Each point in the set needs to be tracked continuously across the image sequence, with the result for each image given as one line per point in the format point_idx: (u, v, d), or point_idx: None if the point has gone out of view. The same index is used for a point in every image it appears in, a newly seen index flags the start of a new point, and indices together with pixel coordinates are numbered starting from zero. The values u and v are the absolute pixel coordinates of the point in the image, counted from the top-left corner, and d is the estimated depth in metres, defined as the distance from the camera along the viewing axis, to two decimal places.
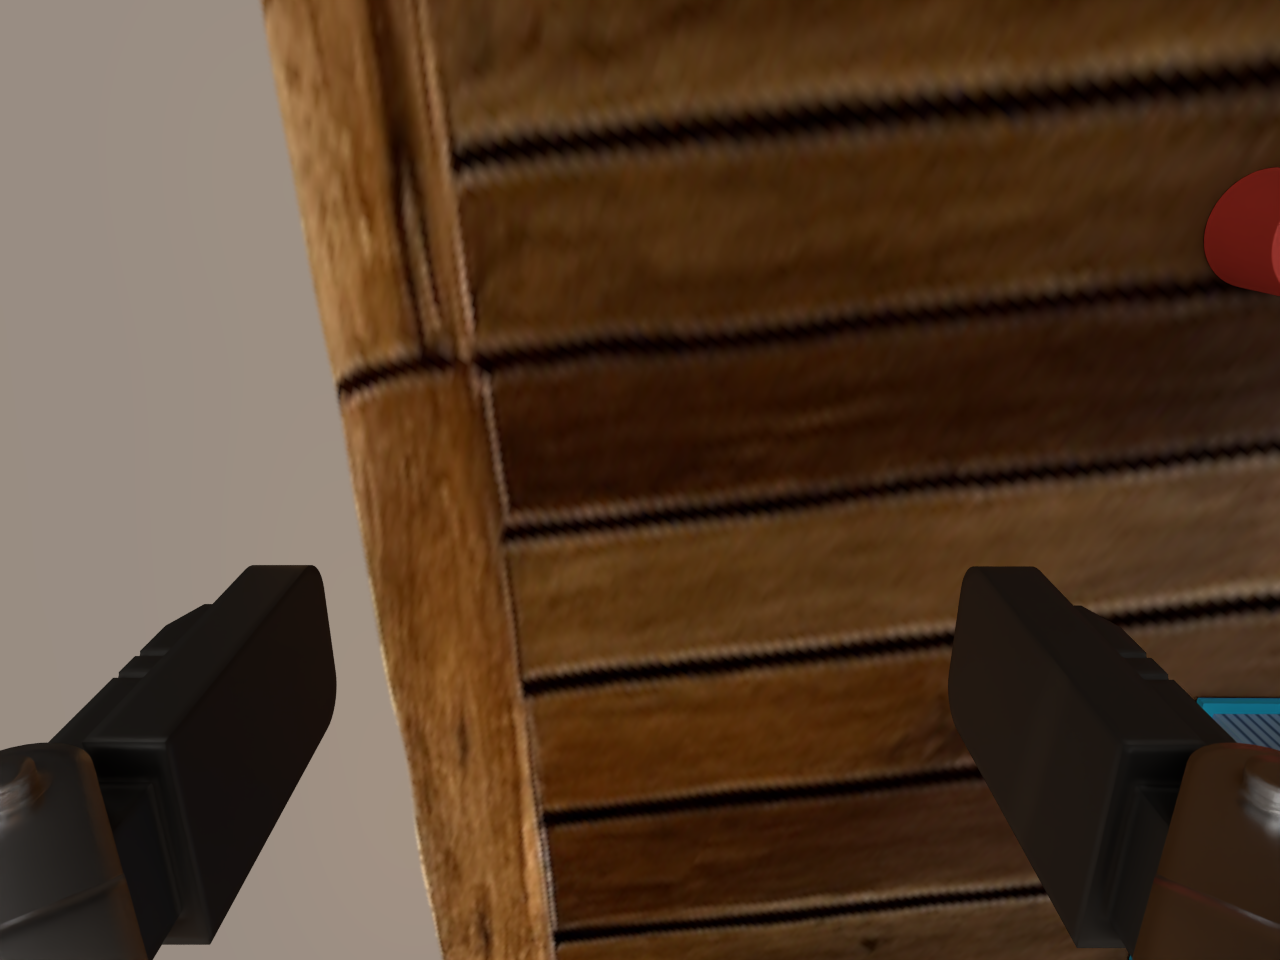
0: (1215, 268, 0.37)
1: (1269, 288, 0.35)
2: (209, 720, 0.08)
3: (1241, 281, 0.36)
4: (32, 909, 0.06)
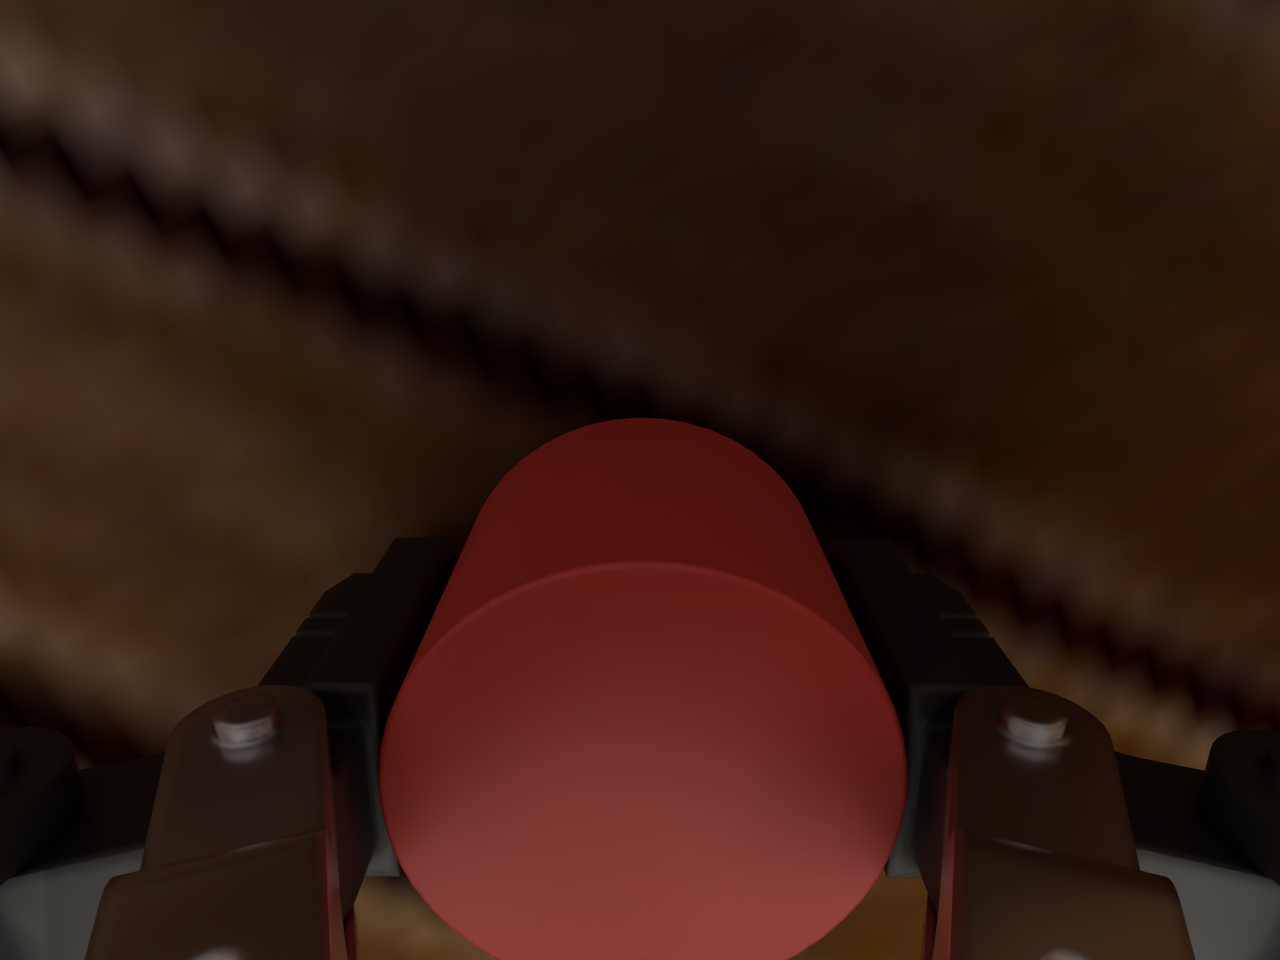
0: None
1: None
2: (398, 671, 0.09)
3: None
4: (254, 840, 0.06)
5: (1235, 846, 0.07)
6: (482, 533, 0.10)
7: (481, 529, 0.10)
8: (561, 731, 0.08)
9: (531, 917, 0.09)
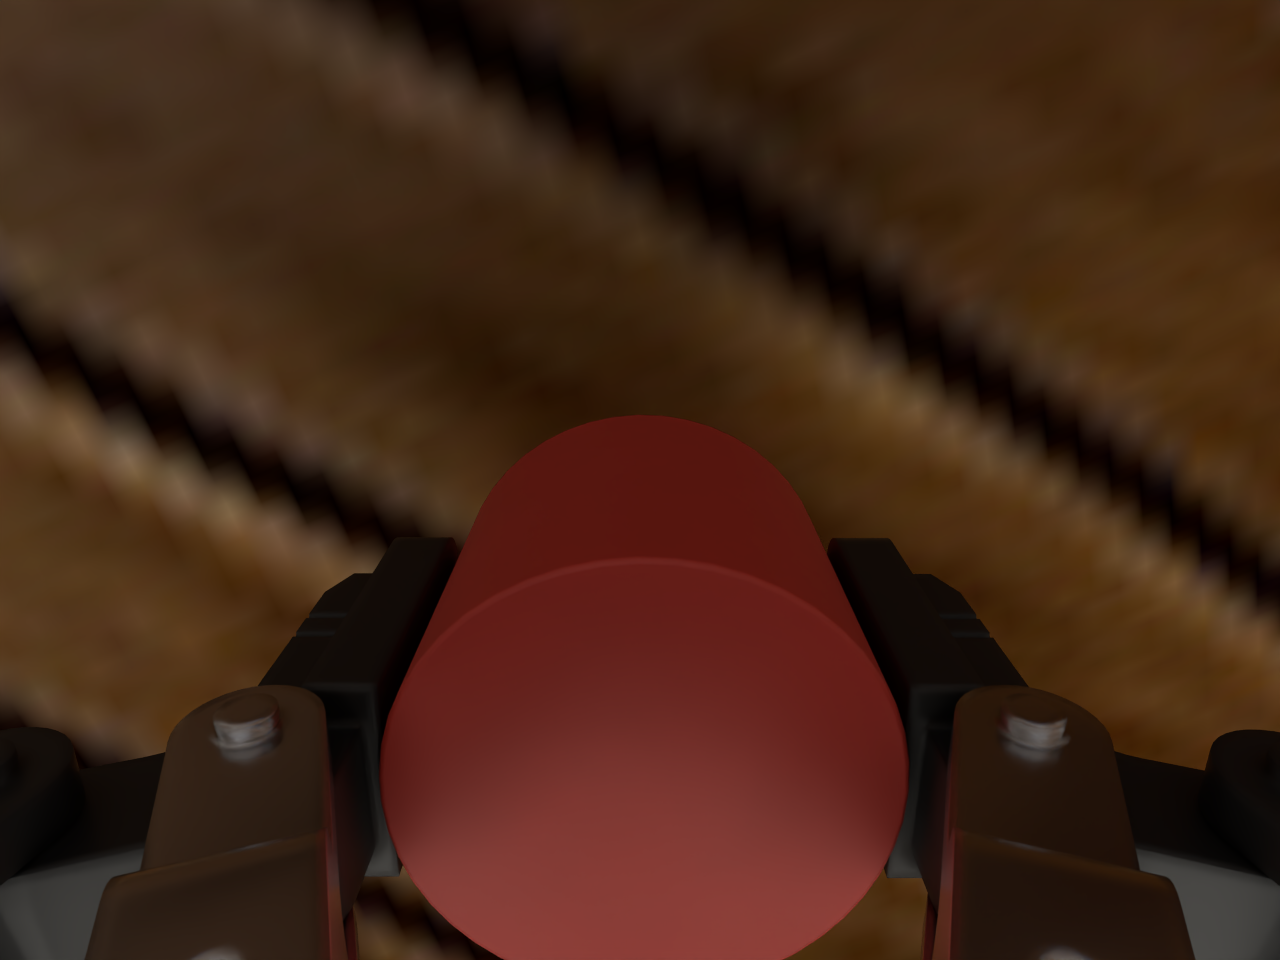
0: None
1: None
2: (398, 671, 0.09)
3: None
4: (254, 840, 0.06)
5: (1237, 846, 0.07)
6: (483, 530, 0.10)
7: (482, 526, 0.10)
8: (563, 727, 0.08)
9: (532, 914, 0.09)
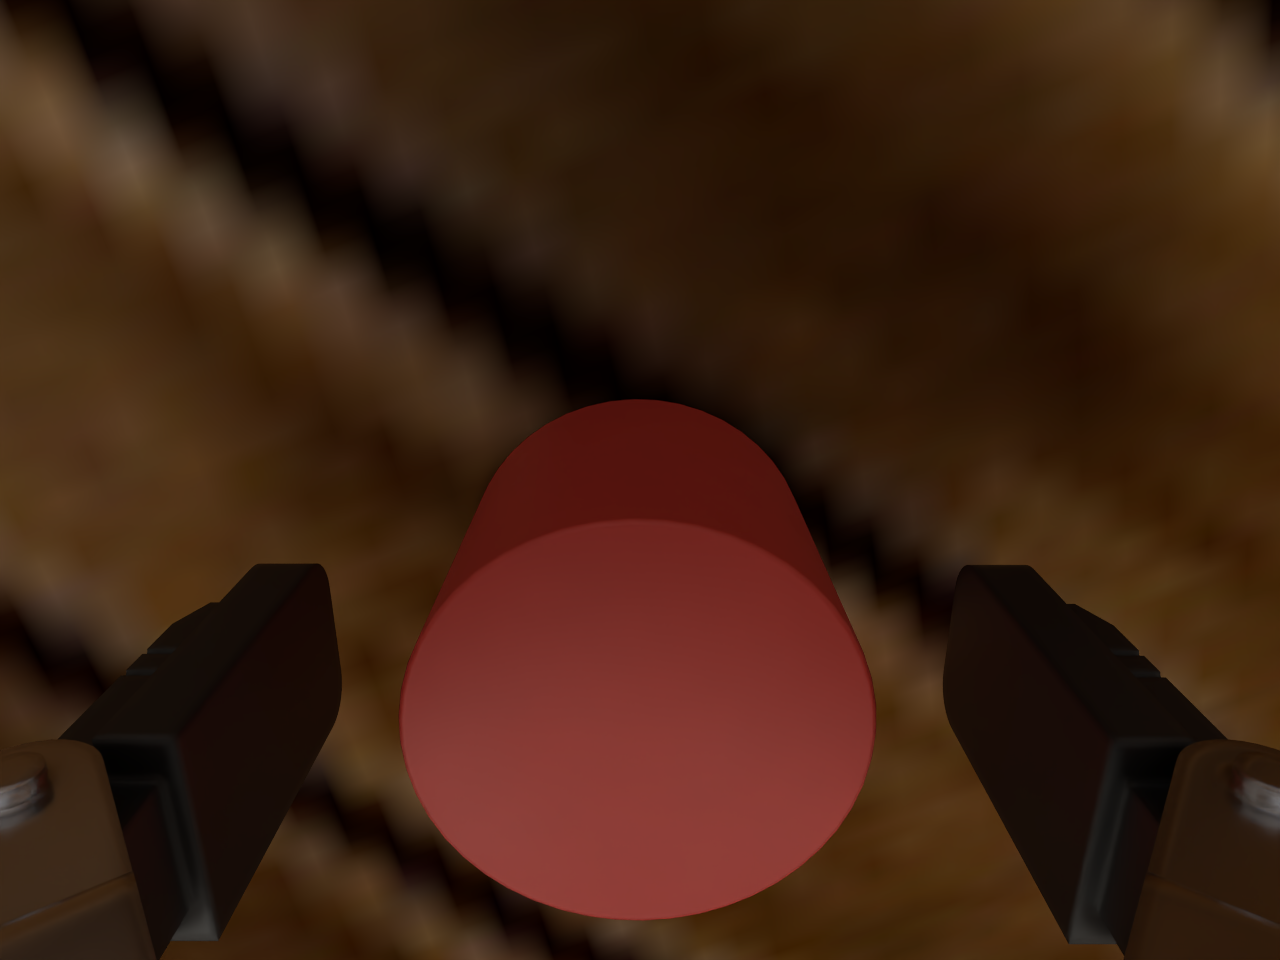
0: None
1: None
2: (217, 717, 0.08)
3: None
4: (43, 905, 0.06)
5: None
6: (491, 502, 0.11)
7: (489, 499, 0.11)
8: (564, 673, 0.09)
9: (536, 847, 0.10)
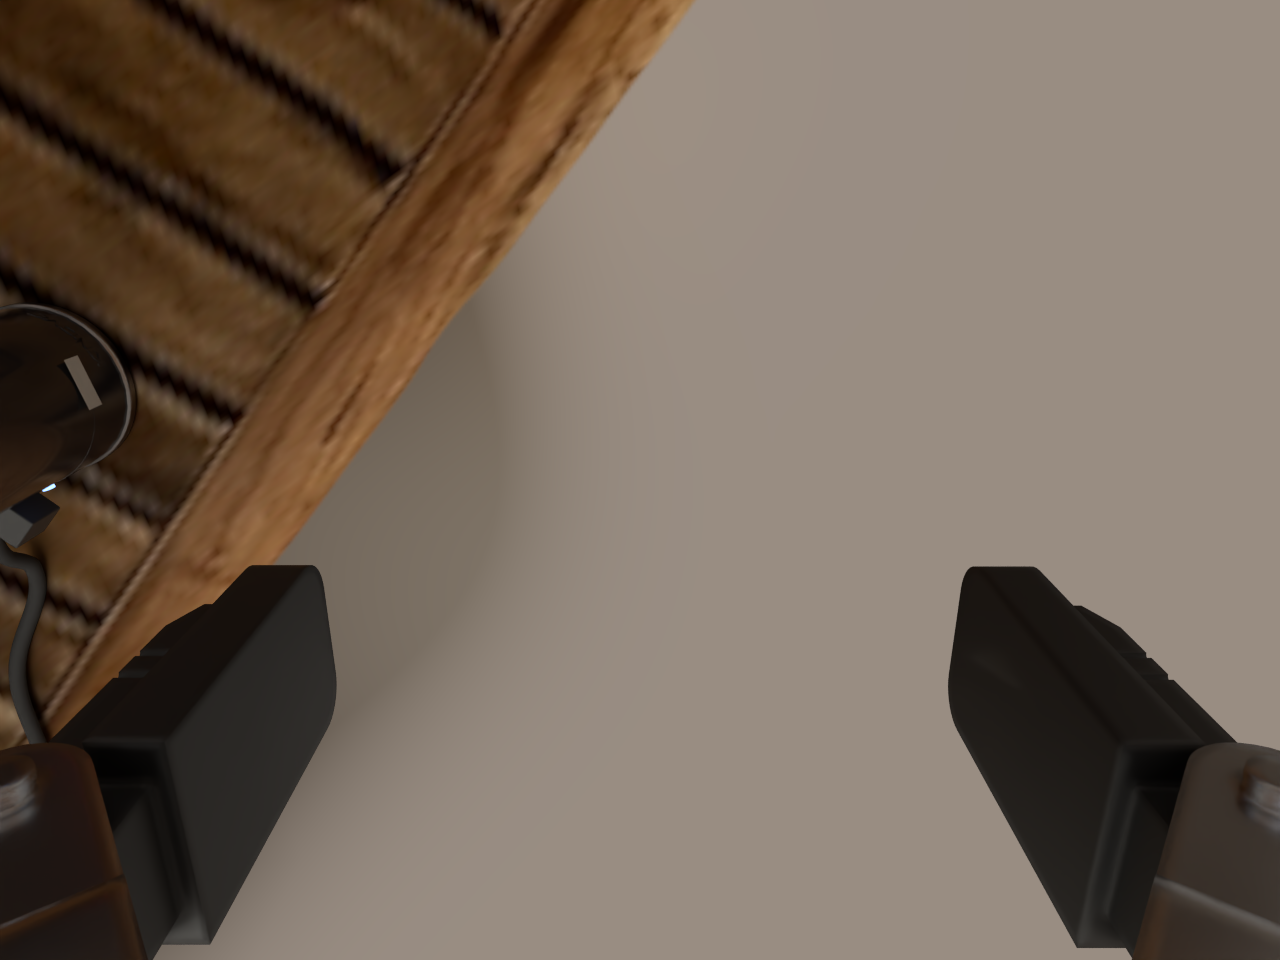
0: None
1: None
2: (209, 720, 0.08)
3: None
4: (32, 909, 0.06)
5: None
6: None
7: None
8: None
9: None
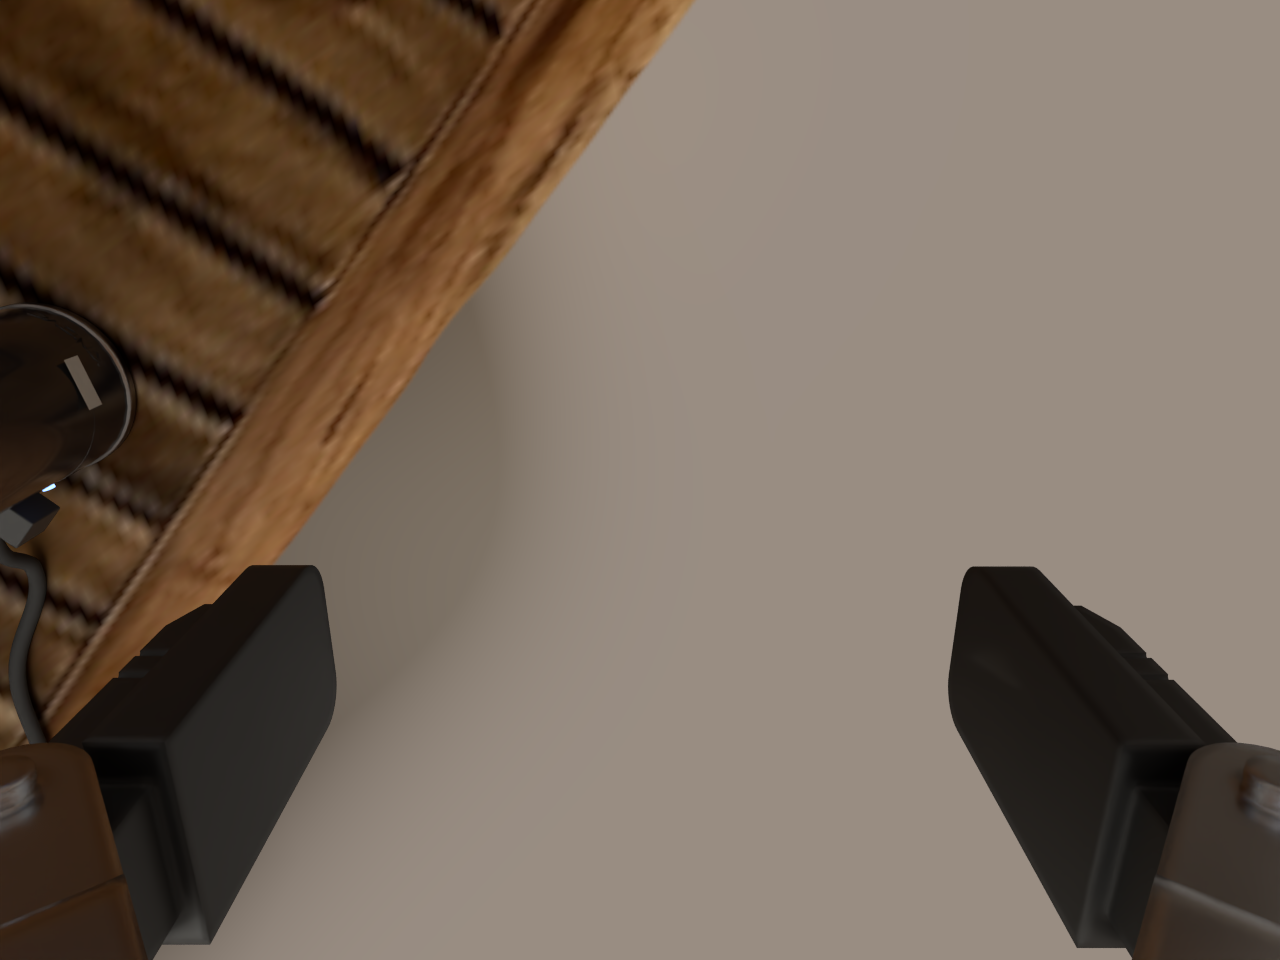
0: None
1: None
2: (209, 720, 0.08)
3: None
4: (32, 909, 0.06)
5: None
6: None
7: None
8: None
9: None
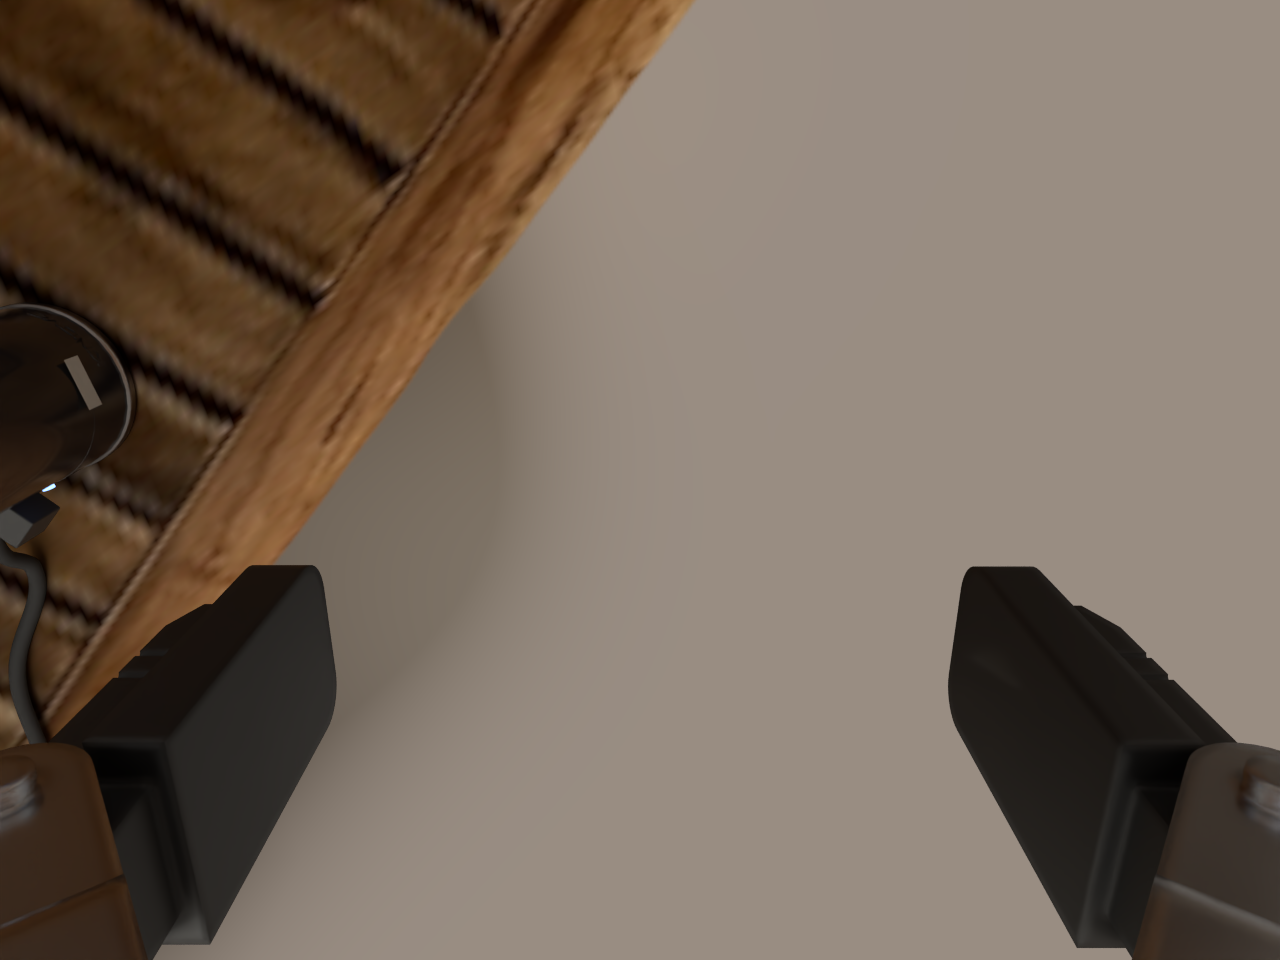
0: None
1: None
2: (209, 720, 0.08)
3: None
4: (32, 909, 0.06)
5: None
6: None
7: None
8: None
9: None
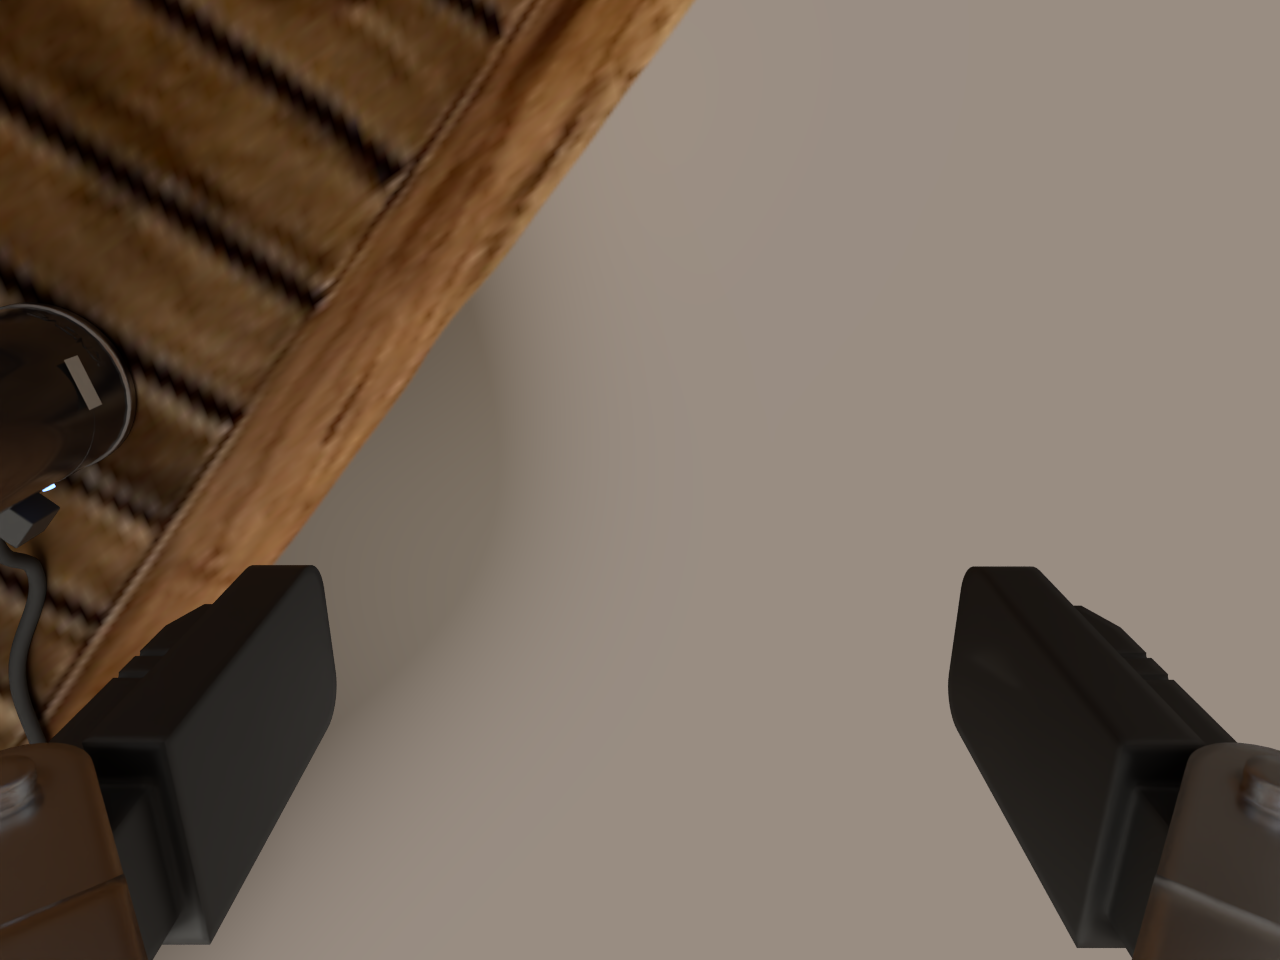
0: None
1: None
2: (209, 720, 0.08)
3: None
4: (32, 909, 0.06)
5: None
6: None
7: None
8: None
9: None
